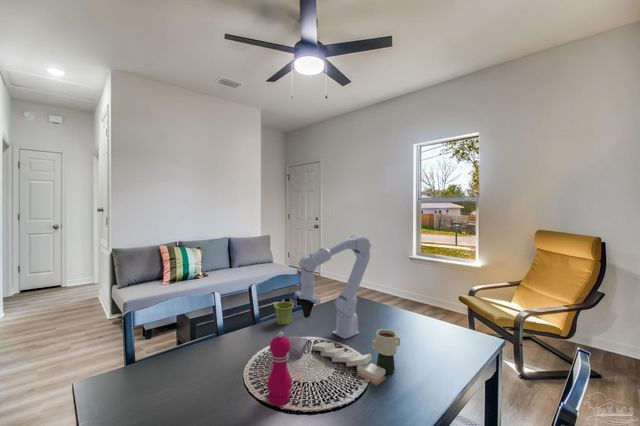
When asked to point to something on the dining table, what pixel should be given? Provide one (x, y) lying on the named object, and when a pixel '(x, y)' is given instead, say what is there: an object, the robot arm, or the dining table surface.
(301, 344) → the stone block
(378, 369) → the domino
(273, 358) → the pepper mill
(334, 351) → the domino
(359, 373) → the domino
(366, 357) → the domino
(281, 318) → the plant pot
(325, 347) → the domino
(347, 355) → the domino
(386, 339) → the character mug
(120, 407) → the dining table surface
